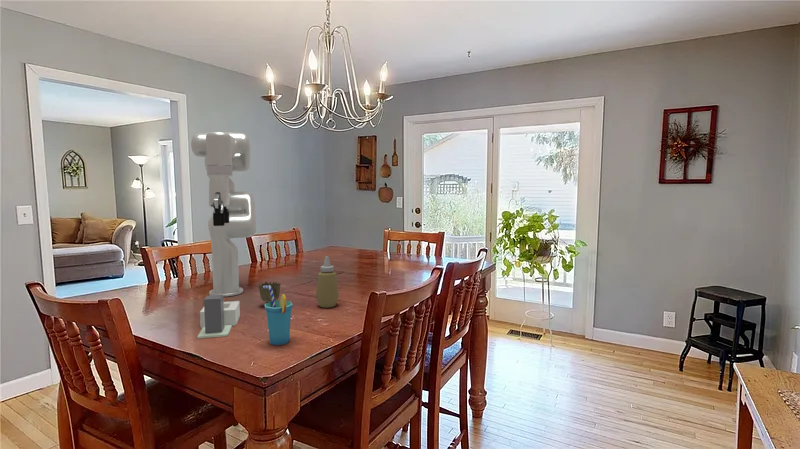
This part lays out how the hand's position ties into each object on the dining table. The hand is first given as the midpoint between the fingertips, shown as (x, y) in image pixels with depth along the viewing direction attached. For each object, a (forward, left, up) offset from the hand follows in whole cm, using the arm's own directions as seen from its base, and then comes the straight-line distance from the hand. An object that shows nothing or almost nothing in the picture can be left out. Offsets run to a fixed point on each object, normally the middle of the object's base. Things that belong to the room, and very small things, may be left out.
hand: (221, 224), depth 135 cm
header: (+7, 0, -30) cm, 31 cm away
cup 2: (-8, +14, -31) cm, 34 cm away
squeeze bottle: (-3, +34, -31) cm, 46 cm away
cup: (+28, +18, -31) cm, 45 cm away
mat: (+17, 0, -30) cm, 35 cm away
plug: (+17, 0, -30) cm, 34 cm away
